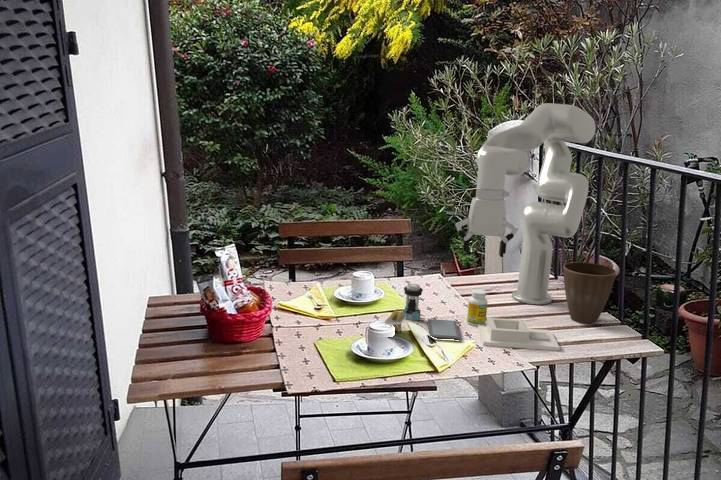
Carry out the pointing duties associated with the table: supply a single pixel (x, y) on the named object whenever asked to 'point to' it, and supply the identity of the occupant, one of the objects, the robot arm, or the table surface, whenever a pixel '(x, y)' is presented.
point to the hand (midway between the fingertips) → (483, 254)
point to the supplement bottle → (477, 308)
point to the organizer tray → (515, 335)
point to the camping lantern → (412, 302)
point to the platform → (396, 319)
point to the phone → (443, 329)
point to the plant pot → (587, 290)
